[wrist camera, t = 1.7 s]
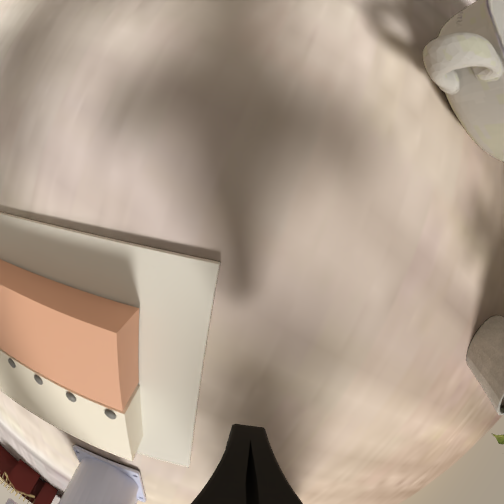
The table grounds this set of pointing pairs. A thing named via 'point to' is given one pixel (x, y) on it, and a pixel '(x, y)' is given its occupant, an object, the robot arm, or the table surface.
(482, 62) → the teacup
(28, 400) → the ticket book
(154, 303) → the mat
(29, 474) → the toy houses
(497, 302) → the table surface
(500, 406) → the house plant
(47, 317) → the stub
